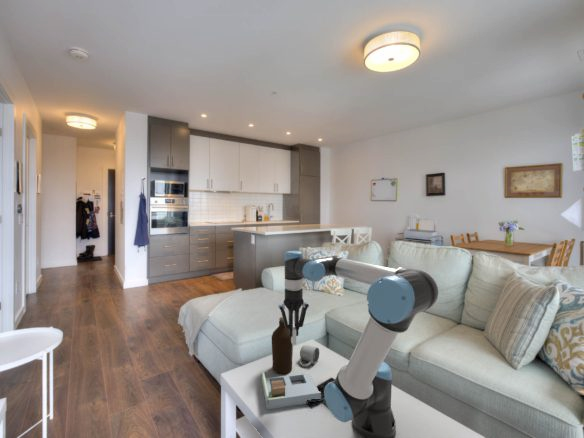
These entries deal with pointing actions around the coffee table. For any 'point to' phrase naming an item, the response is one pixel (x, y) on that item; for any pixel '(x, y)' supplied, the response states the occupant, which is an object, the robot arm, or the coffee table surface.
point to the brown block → (277, 388)
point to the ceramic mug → (309, 354)
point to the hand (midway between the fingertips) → (293, 343)
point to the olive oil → (282, 349)
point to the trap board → (291, 390)
